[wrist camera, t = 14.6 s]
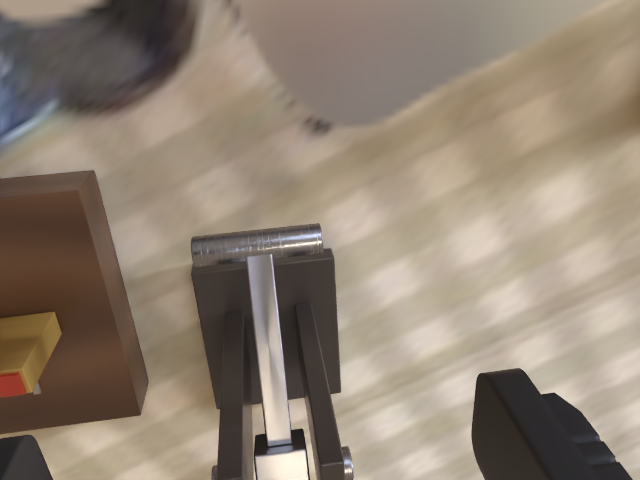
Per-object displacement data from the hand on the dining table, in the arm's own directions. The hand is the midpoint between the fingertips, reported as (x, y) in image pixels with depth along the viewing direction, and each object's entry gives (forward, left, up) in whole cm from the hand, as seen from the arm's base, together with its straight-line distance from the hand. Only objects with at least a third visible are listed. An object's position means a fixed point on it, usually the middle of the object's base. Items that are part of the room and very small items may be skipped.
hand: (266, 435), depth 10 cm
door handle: (+8, 0, -12) cm, 15 cm away
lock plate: (+8, -13, -20) cm, 25 cm away
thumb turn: (+8, -13, -17) cm, 23 cm away
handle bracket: (+12, 0, -20) cm, 24 cm away
